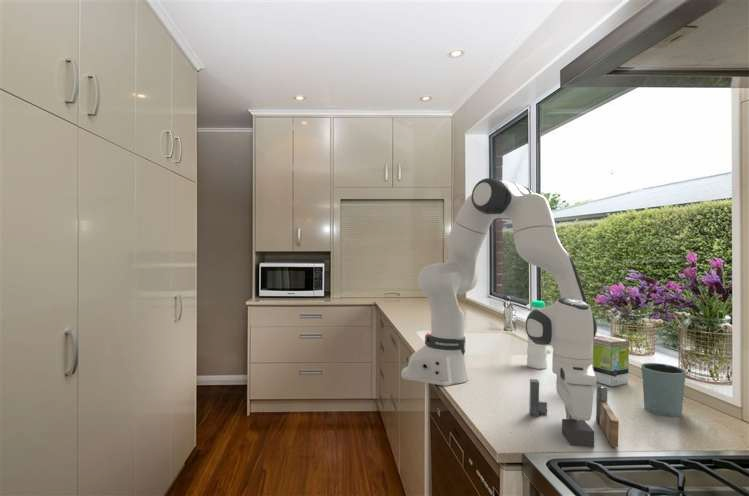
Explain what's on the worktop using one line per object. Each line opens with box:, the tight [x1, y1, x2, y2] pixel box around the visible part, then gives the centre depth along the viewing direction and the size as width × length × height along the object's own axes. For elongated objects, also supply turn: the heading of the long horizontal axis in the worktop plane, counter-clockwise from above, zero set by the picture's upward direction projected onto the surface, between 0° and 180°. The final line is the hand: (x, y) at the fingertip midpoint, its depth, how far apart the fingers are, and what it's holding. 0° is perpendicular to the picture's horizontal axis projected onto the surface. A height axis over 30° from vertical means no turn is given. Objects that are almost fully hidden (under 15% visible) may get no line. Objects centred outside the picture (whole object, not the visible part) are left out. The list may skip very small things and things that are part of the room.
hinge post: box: [595, 385, 608, 424], centre depth 104 cm, size 2×2×9 cm
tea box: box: [593, 333, 630, 387], centre depth 141 cm, size 15×10×15 cm, turn 28°
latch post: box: [528, 378, 548, 418], centre depth 108 cm, size 4×3×9 cm
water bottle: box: [526, 300, 548, 370], centre depth 155 cm, size 7×7×25 cm
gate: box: [599, 400, 620, 448], centre depth 96 cm, size 13×1×6 cm, turn 161°
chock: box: [561, 418, 595, 448], centre depth 94 cm, size 5×6×4 cm
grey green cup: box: [640, 362, 687, 418], centre depth 113 cm, size 10×10×12 cm
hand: (571, 424), depth 98 cm, fingers closed
